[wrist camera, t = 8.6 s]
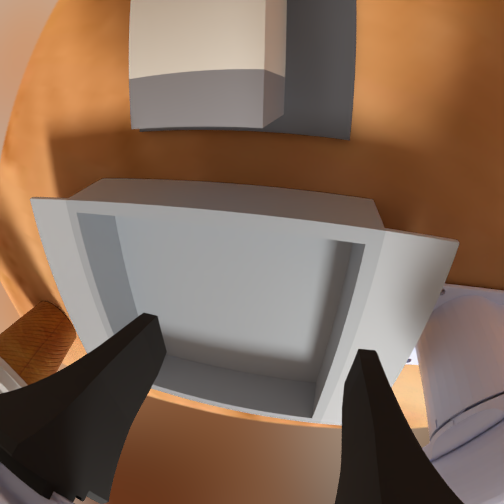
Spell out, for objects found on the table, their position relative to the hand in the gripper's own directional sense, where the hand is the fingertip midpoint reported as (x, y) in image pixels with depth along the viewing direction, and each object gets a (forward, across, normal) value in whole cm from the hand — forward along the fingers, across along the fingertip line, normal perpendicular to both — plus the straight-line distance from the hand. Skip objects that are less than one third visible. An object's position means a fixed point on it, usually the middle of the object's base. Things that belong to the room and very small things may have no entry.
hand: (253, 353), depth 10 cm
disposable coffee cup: (+10, +26, +15) cm, 32 cm away
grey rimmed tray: (+9, +4, +6) cm, 12 cm away
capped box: (+9, +3, -12) cm, 15 cm away
